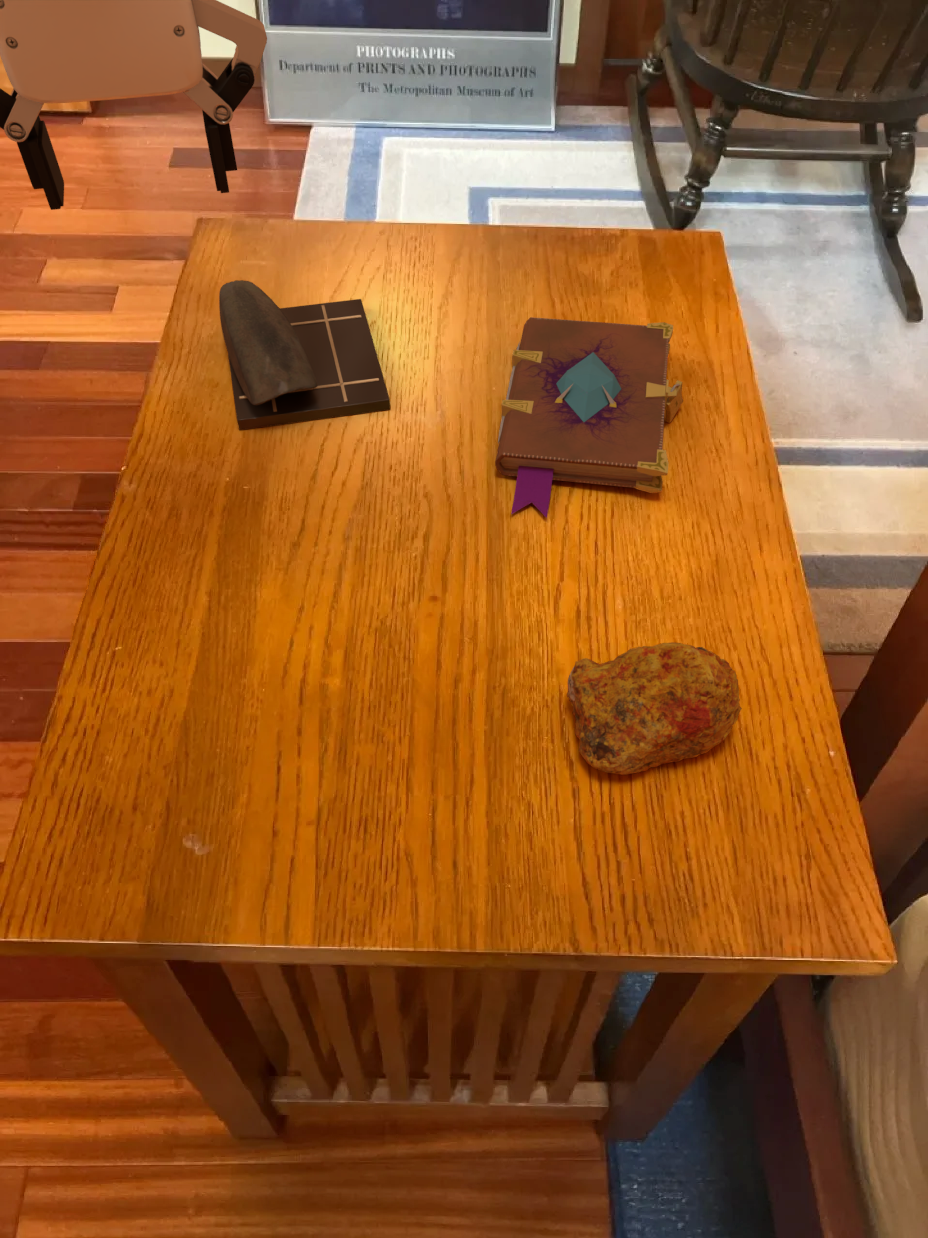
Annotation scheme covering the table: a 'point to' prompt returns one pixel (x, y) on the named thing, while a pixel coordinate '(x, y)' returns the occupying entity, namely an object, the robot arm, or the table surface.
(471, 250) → the table surface
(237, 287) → the decorative stone
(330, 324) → the board
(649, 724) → the rock
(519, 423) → the book
